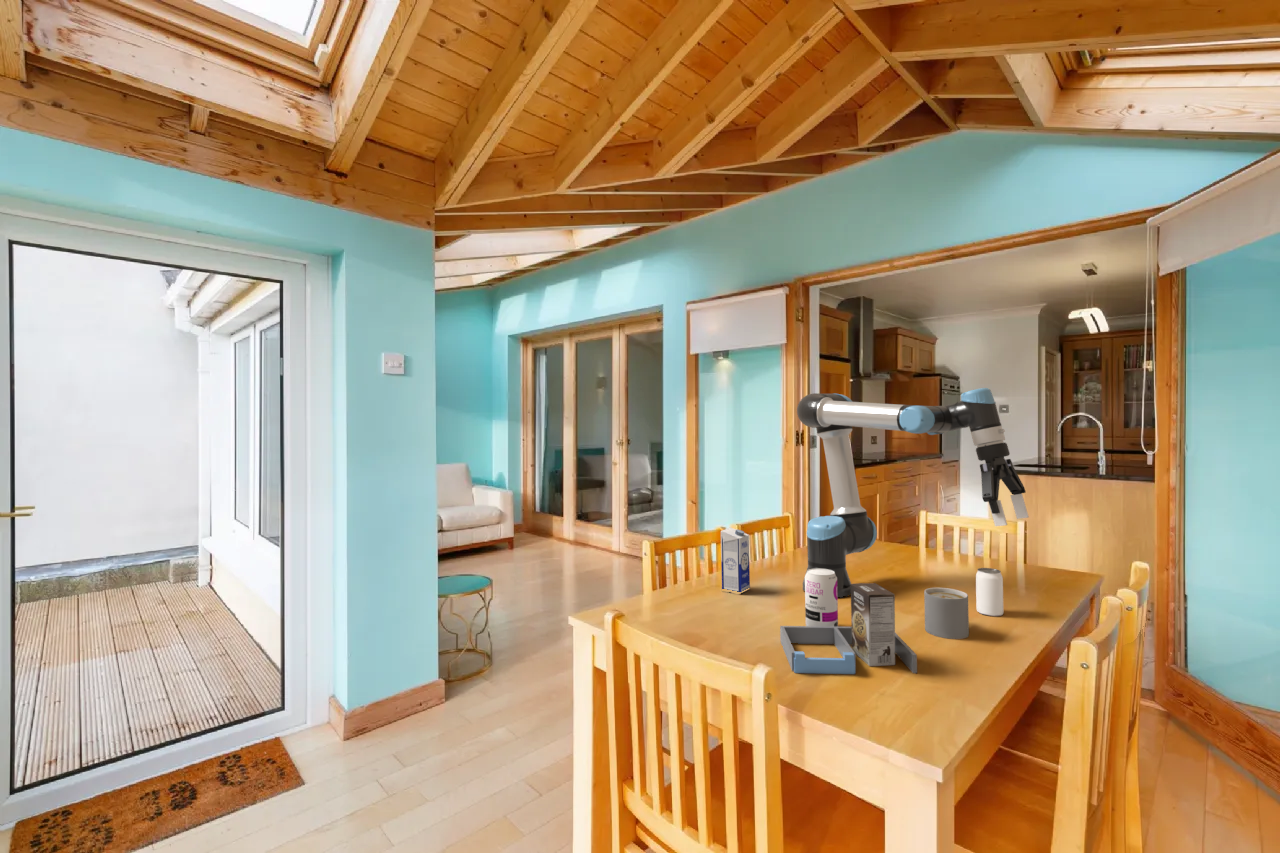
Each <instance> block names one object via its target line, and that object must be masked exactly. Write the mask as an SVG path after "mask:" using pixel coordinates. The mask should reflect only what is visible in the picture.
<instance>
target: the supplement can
mask: <svg viewBox="0 0 1280 853" xmlns="http://www.w3.org/2000/svg"><path fill="white" fill-rule="evenodd" d="M806 571H807V573H806V572H805V574H806V575H805V574H804V577H805V592H804V599H805V600H804V602H805V604H804V608H805V609H804V610H805V626H836V627H839V606H838V604H839V603H838V602H839V601H838V600H839V598H838V596H837V577H836V575H835V572H834V571H832V570H828V569H820V568H816V569H809V570H807V569H806Z"/></svg>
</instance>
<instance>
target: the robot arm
mask: <svg viewBox="0 0 1280 853" xmlns="http://www.w3.org/2000/svg"><path fill="white" fill-rule="evenodd" d="M796 413H797V418H798V420H799V421H800V423H802V424H803V425H804V426H806V427H808V428H814V429H816V434H817V436H818V437H819V438H820V439H821V440H822V443H823V444H822V445H823V449H824V454H825V462H826V467H827V474H828V479H829V486H830V492H831V499H832V505H833V509H832V510H831V512H830V514H829V515H825V516H821V515H820V516H818V517H814V518H811V519H810V520H809V521H808V523H807V527H806V528H807V531H806V538H807V539H806V540H807V568H806V572H805V574H804V577H803V581H802V591H803V590H804V591H805V575H806V573H807V570H809V569H816V568H820V569H828V570H832V571H834V572H835V575H836V577H837V596H838V597H840V598H844V597H843V596H846V597H849V596H851V595H850V594H851V585H850V584H852V581H851V579H850V576H849V573H848V571H847V561H846V560H847V559H846V558H847V556H848V555H851V554H855V553H862V552H864V551H866V550H868V549H870V548H871V547H872V546H873V545H874V544H875V543H876V540H877V538H878V537H877V536H878V535H877V534H878V531H877V526H876V524H875V522H874V521H873V520H872V519H871V518H870V517H869V516H868V512H867V509H865V507H863V506H862V504H861V500H860V494H859V493H860V492H859V489H858V482H857V478H856V471H855V464H854V459H853V458H854V457H853V454H852V452H853V451H852V446H851V441H850V440H851V439H850V435H851V433H852V431H853V427H855V428H867V429H878V430H889V431H897V432H907V433H910V434H925V433H926V434H927V435H930V436H934V435H943V434H945V433H948V432H952V431H956V430H960V429H965V428H969V430H970V434H971V438H972V441H973V446H974V447H975V452H976V456H977V460H978V461H980V462H981V461H982V462H983V461H984V463H981V464H979V468H980V474H981V477H980V478H981V496H982V500H983V502H984V503H988V506H989V509H990V512H991V517H992V520H993V523H994V527H1000V526H1001V527H1003V526H1008V522H1007V519H1006V515H1005V512H1004V509H1003V508H1004V507H1003V504H1002V500H1001V499H999V493H1000V481H1002V482H1003V484H1004V485H1005V486H1006V488H1007V489H1008V490H1009V493H1011V495H1010V499H1011V502H1012V506H1013V510H1014V512H1015V516H1016V519H1017V520H1018V519H1027V518H1030V516H1029V513H1028V510H1027V507H1026V502H1025V499H1024V495H1023V494H1025V493H1026V488H1025V486H1024V484H1023V482H1022V480H1021V478H1020V476H1019V474H1018V473H1017V471H1016V469H1015V467H1014V465H1013V461H1012V459H1011V458H1007V459H1005V457H1009V456H1010V449H1009V447H1008V446H1009V445H1008V443H1007V442H1004V441H1005V440H1006V437H1005V434H1004V432H1006V431H1005V429H1004V428H1003V426H1002V422H1001V420H1000V415H999V412H998V408H997V402H996V401H995V399H994V395H993V393H992V391H991V389H989V388H987V387H981V388H980V387H979V388H976V389H971V390H968V391H965V392H962V393H961V395H960V401H957V402H953V403H949V404H946V405H913V404H893V403H881V402H880V403H878V402H865V401H863V402H861V401H860V402H859V401H853V400H852V399H851V398H850V397H848V396H846V395H845V394H839V393H836V392H835V393H820V392H819V393H817V392H816V393H809V394H807V395H805V396H803V397H802V398H801V399H800V401H799V402H798V404H797V408H796ZM804 591H803V592H804ZM848 595H849V596H848Z"/></svg>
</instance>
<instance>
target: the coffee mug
mask: <svg viewBox="0 0 1280 853" xmlns="http://www.w3.org/2000/svg"><path fill="white" fill-rule="evenodd" d="M923 593H924V594H923V595H924V601H923V602H924V630H925V631H926V633H928V634H930V635H933V636H934V637H938V638H943V639H950V640H962V639H966V638H968V637H969V635H970V632H969V631H970V628H969V627H970V626H969V595H968V593H967V592H964V591H962V590H960V589H959V590H958V589H956V588H955V589H954V588H947V587H930V588H926V589H924V592H923Z"/></svg>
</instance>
